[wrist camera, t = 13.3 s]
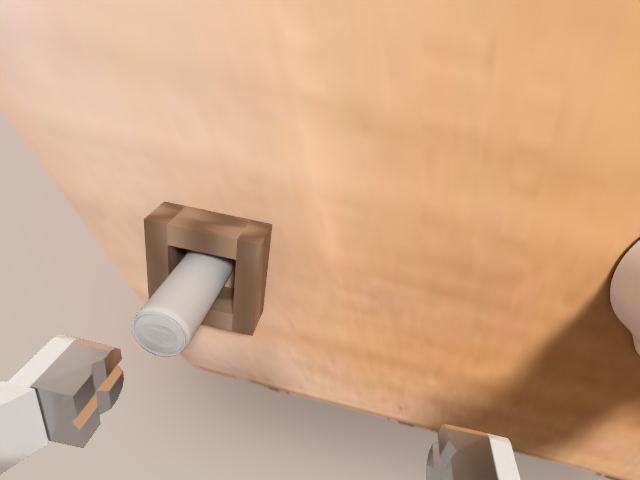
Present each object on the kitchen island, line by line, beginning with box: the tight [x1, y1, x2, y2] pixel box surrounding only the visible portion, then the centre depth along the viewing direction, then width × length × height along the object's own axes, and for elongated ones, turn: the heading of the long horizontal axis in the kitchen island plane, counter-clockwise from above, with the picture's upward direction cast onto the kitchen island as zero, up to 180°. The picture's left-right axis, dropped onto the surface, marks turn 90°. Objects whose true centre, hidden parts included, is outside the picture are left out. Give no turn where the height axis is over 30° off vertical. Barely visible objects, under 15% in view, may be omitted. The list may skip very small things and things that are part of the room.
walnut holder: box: [144, 202, 272, 336], centre depth 43 cm, size 11×11×4 cm
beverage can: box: [132, 250, 233, 357], centre depth 40 cm, size 5×5×12 cm
